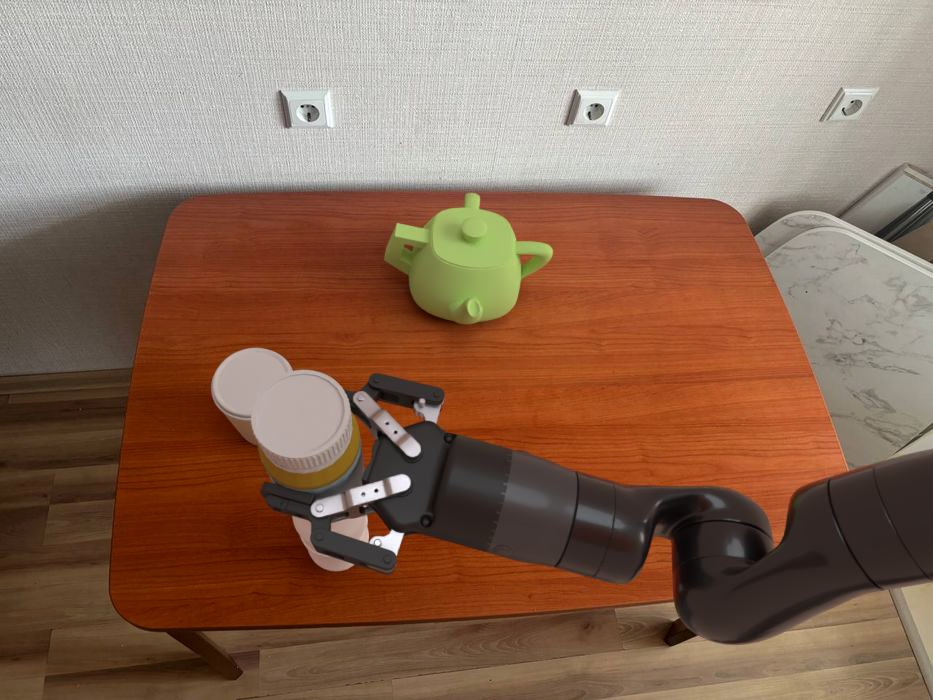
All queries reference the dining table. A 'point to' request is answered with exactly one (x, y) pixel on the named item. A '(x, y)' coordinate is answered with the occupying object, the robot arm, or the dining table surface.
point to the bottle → (308, 434)
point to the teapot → (464, 262)
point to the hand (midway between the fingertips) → (285, 440)
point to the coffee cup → (245, 384)
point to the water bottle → (345, 527)
